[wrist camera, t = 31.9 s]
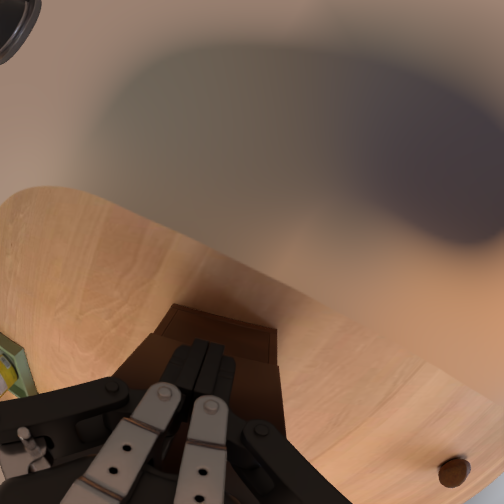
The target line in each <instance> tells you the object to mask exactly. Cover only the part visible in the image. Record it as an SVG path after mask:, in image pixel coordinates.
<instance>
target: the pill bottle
mask: <svg viewBox="0 0 504 504" xmlns="http://www.w3.org/2000/svg"><path fill="white" fill-rule="evenodd" d="M18 378H19V374H18V372H17V369H16V366H15V363H14V361H13V359H12V358H11V357H10V356H9V355H8V354H7V353H5V352H4V351H3V350H0V398H1V397H2V396H3V395H4V393H5V392H6V391H7V390H8V389H9V388H10V387H11V386H12V385H13V384H14V383H15V382H16V381H17V380H18Z"/></svg>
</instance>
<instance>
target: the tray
mask: <svg viewBox="0 0 504 504" xmlns="http://www.w3.org/2000/svg"><path fill="white" fill-rule="evenodd" d="M0 350H3V351H4V352H5V353H7V354H8V355H9V356H10V357H11V358H12V359H13V361H14V363H15V366H16V369H17V372H18V374H19V378H18V380H17V381H16V382H15V383H14V384H13V385H12V386H11V387H10V388H9V389H8V391H10V392H11V393H12V394H14V395H15V396H17V397H18V398H23V397H27V396H32V395H37V394H38V393H37V390H36V388H35V385H34V382H33V379H32V376H31V373H30V369H29V366H28V363H27V359H26V356H25V352H24V349H23V348H22V347H21V346H19V345H17V344H16V343H14V342H13V341H11V340H10V339H8V338H7V337H6V336H4V335H3V334H1V333H0Z"/></svg>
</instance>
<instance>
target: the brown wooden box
mask: <svg viewBox="0 0 504 504" xmlns="http://www.w3.org/2000/svg"><path fill="white" fill-rule="evenodd" d="M153 334H156V335H159V336H163V337H166V338H169V339H172V340H176V341H179V342H182V343H186V344H189V345H192V343H193V341H194V339H195V337H196V338H200V339H204V340H208V341H210V342H211V341H212V342H216V343H219V344H223V345H225V349H224V353H223V354H227V355H231V356H236V357H240V358H244V359H249V360H253V361H258V362H262V363H267V364H272V365H277V330H276V329H272V328H267V327H263V326H258V325H254V324H250V323H246V322H241V321H237V320H233V319H229V318H225V317H221V316H217V315H213V314H210V313H206V312H202V311H198V310H195V309H191V308H187V307H184V306H180V305H177V304H173V305H172V306H171V308H170V309H169V311H168V312H167V314H166V315H165V317H164V318H163V320H162V321H161V322H160V324H159V325H158V327H157V328H156V330H155V331H154V333H153ZM209 345H210V344H209Z"/></svg>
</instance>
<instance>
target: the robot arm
mask: <svg viewBox="0 0 504 504" xmlns="http://www.w3.org/2000/svg"><path fill="white" fill-rule="evenodd" d="M29 1H30V0H0V53H1V52H3V51H4V50H5V49H6V48H7V47H8V46H9V44H10V43H11V42H12V41H13V39H14V38H15V36H16V35H17V33H18V32H19V30H20V28H21V27H22V25H23V23H24V21H25V19H26V16H27V13H28V10H29ZM209 344H210V345H209ZM224 349H225V345H223V344H219V343H216V342H212V341H211V342H210V341H208V340H204V339H200V338H196V337H195V339H194V341H193V343H192V346H188V345H184V344H182V345H180V346H179V347H177V348H176V349H175V350H174V352H173V354H172V357H171V358H170V360H169V362H168V364H167V366H166V368H165V370H164V372H163V374H162V376H161V378H160V380H159V382H158V383H155V384H153V385H151V386H150V388H149V389H143V390H141V389H130V388H129V387H128V385H127V383H126V382H125V381H123V380H122V379H120V378H117V377H105V378H101V379H98V380H94V381H90V382H87V383H83V384H79V385H75V386H71V387H67V388H63V389H59V390H55V391H50V392H46V393H41V394H37V395H32V396H27V397H23V398H17V399H12V400H7V401H1V402H0V465H1V469H2V472H3V474H4V477H5V481H4V482H3V483H2V484H1V485H0V504H241V503H240V502H239V501H238V500H237V499H236V498H235V497H234V496H233V495H231V494H230V493H228V492H227V491H225V490H224V489H225V475H226V461H228V462H230V463H231V466H232V468H233V469H234V471H235V472H236V473H237V475H238V476H239V477H240V479H241V480H242V481H243V483H244V484H245V485H246V486H247V488H248V489H249V490H250V491H251V493H252V494H253V495H254V496H255V498H256V499H257V500H258V501H259V502H260V504H352V503H351V502H350V501H349V500H348V499H347V498H346V497H345V496H343V495H342V494H341V493H340V492H339V491H338V490H337V489H336V488H335V487H334V486H333V485H332V484H331V483H329V482H328V481H327V480H326V479H325V478H324V477H323V476H322V475H321V474H320V473H319V472H318V471H317V470H316V469H315V468H314V467H313V466H312V465H311V464H310V463H309V462H308V461H307V460H306V459H305V458H304V457H303V456H302V455H301V454H300V453H299V452H298V450H297V449H296V448H295V447H294V446H293V445H292V444H291V443H290V442H289V441H288V440H287V439H286V438H285V437H284V435H283V434H282V433H281V432H280V431H279V430H278V429H277V428H276V427H275V426H274V425H273V424H272V423H271V422H269V421H267V420H264V419H252V420H249V421H246V420H244V419H242V418H240V417H238V416H237V415H236V414H234V413H233V411H232V410H231V408H230V405H229V401H230V396H231V391H232V386H233V380H234V375H235V370H236V362H235V360H234V357H230V356H226V355H223V353H224ZM189 416H190V417H189ZM188 419H189V424H190V426H189V431H188V435H187V440H186V443H185V447H184V452H183V457H182V462H181V467H180V472H179V474H173V473H164V472H162V468H163V464H164V462H165V460H166V458H167V456H168V453H169V451H170V449H171V447H172V445H173V443H174V441H175V438H176V436H177V434H178V430H179V428H180V425H181V422H185V423H187V422H188ZM103 444H104V445H103ZM100 445H103V447H102V448H101V450H100V451H99V453H98V454H91V455H87V456H84V457H81V458H78V459H75V460H72V461H69V462H66V463H63V464H60V465H57V466H53V467H52V465H53V462H54V459H57V458H61V457H64V456H68V455H71V454H75V453H78V452H81V451H85V450H88V449H91V448H94V447H97V446H100Z"/></svg>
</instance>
